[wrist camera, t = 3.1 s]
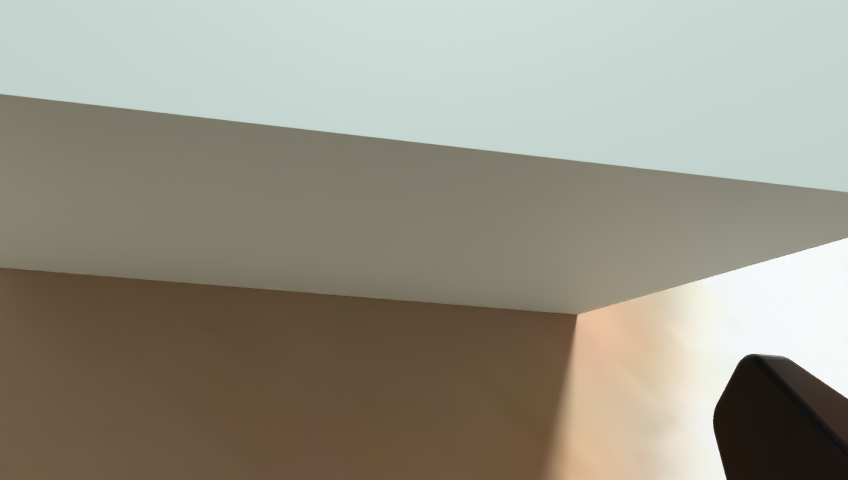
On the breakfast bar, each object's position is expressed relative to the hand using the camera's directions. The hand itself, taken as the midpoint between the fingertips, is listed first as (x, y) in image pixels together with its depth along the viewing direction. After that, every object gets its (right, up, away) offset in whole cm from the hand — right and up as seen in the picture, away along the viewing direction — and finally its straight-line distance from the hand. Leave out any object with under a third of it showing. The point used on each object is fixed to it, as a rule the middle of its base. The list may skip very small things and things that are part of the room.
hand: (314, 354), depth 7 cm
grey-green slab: (-1, +2, +9) cm, 9 cm away
